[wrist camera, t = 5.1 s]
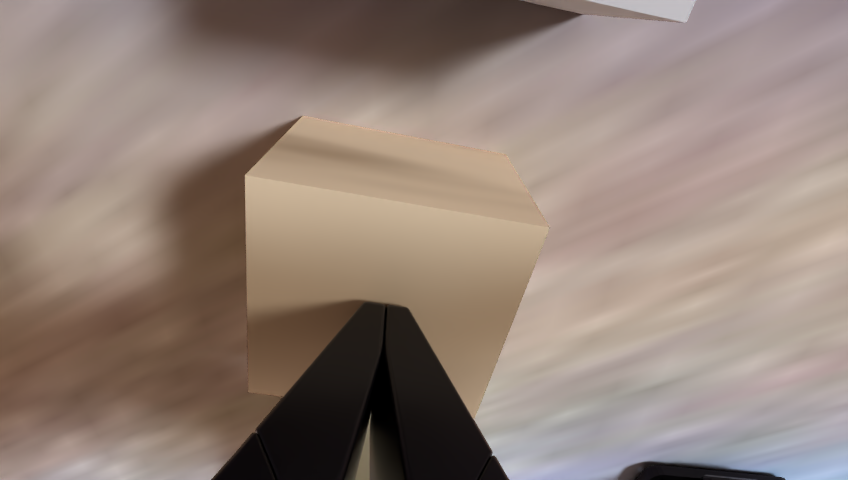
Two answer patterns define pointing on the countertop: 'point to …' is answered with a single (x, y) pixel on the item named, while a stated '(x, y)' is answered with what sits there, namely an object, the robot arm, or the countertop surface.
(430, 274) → the birch block
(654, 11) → the white die
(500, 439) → the countertop surface
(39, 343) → the countertop surface
